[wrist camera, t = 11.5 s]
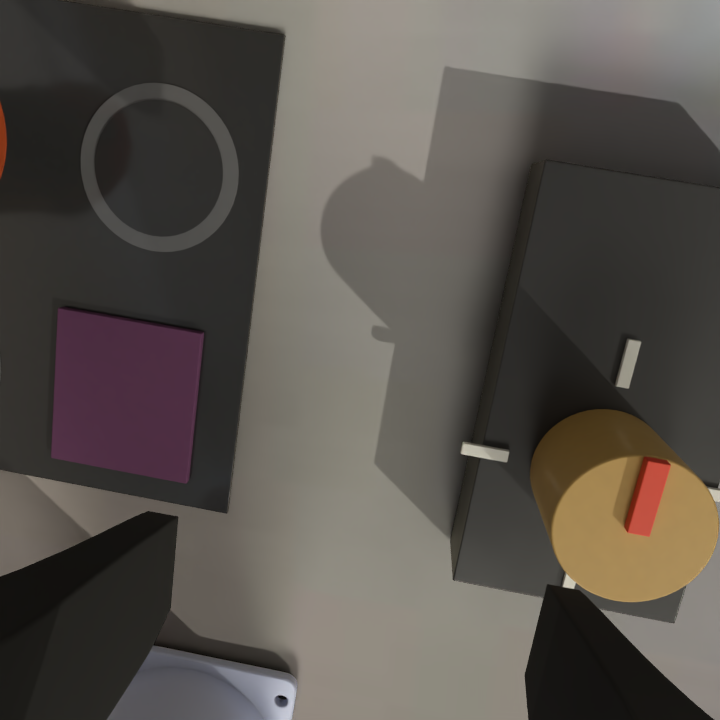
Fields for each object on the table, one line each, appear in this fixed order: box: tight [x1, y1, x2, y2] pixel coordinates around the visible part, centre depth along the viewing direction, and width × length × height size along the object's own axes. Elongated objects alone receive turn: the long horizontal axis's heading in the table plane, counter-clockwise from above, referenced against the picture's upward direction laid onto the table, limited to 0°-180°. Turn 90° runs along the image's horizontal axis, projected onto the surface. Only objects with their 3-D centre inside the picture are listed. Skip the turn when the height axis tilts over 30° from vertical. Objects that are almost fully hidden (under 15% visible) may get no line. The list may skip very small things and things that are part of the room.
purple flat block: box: [51, 307, 204, 484], centre depth 23 cm, size 6×5×1 cm
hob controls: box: [450, 160, 720, 623], centre depth 21 cm, size 13×8×3 cm, turn 171°
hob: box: [0, 0, 285, 513], centre depth 23 cm, size 16×17×1 cm
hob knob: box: [530, 409, 719, 602], centre depth 18 cm, size 4×4×4 cm
